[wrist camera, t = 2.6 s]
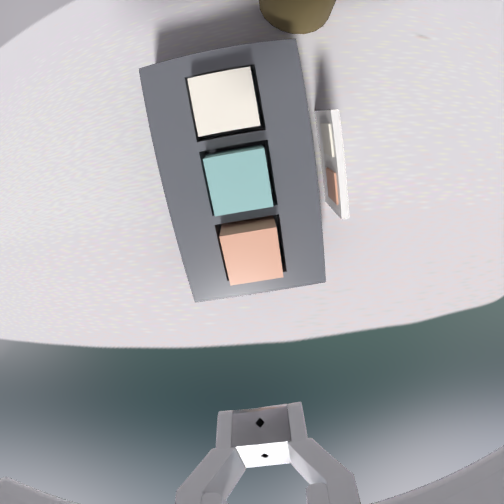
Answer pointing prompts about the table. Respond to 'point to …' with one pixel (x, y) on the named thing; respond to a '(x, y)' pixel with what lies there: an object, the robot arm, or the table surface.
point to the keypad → (268, 134)
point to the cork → (296, 14)
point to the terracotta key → (251, 250)
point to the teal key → (238, 180)
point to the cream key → (224, 101)
